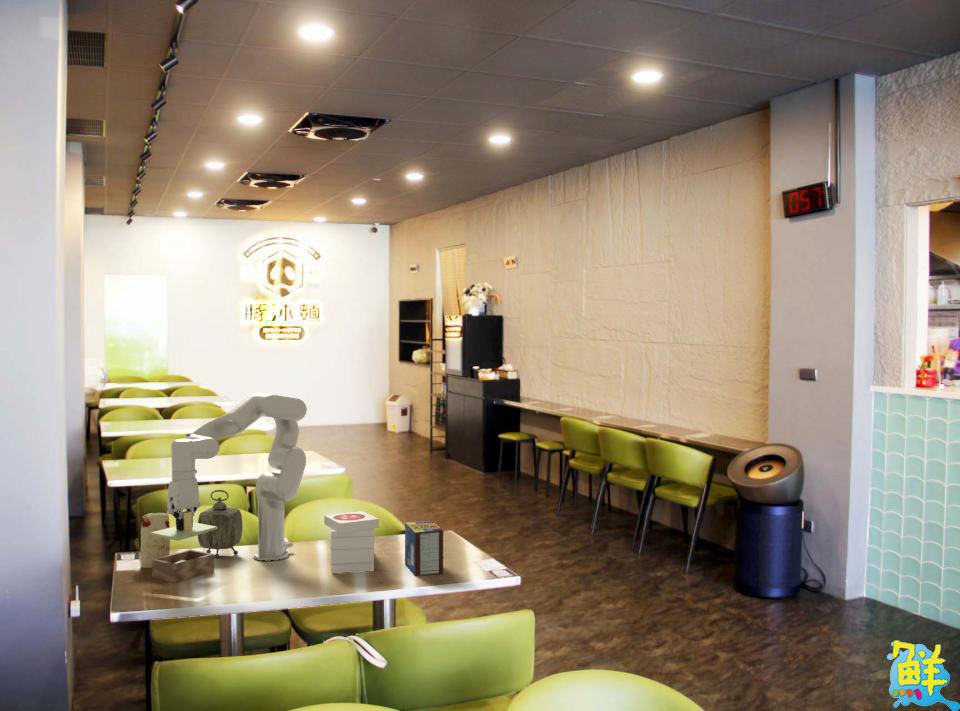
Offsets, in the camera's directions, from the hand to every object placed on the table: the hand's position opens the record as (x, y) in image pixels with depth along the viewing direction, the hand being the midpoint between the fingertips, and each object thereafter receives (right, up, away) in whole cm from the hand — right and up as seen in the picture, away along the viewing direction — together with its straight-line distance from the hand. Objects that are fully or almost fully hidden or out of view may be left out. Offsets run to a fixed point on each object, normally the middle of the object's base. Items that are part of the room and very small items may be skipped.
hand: (184, 528), depth 282 cm
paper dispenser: (+54, -17, +20) cm, 60 cm away
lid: (0, -2, 0) cm, 2 cm away
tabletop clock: (+3, -16, +27) cm, 31 cm away
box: (0, -17, 0) cm, 17 cm away
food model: (-14, -17, +10) cm, 24 cm away
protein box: (+81, -18, +13) cm, 84 cm away
